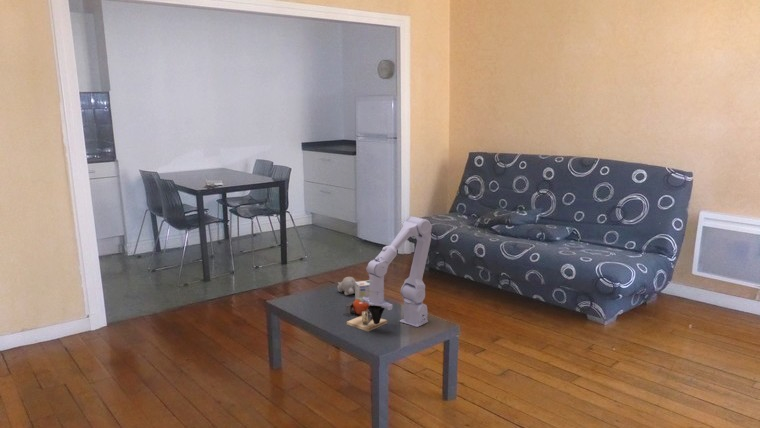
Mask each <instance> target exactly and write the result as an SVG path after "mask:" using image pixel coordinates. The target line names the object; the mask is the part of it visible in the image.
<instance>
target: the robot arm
mask: <svg viewBox="0 0 760 428" xmlns="http://www.w3.org/2000/svg"><path fill="white" fill-rule="evenodd" d="M432 229H433V224H431V222H430V221H429V220H428V219H425V218H421V217H420V218H419V217H416V216H414V215H410V216H408V217H407V218H406V220H405V221H404V222H403V223H402V228H401V229H400V230H399V232H398V233H397V235H396V236H395V237H394V239H393V240H392V241H391V243H390V244H388V245H385V246H383V247H382V250H381V251H380V252H379V253H378V255H376V256H375V257H374V259H372V260H370V261H369V262H368V263H367V266H366V267H365V269H366V272H367V273H368V277H369V278H368V280H369V290H370V291H369V292H370V298H368V297H363V298H361V302H362V303H368V304H369V305H370V306H369V307H368V309H369V310H368V312H370V313H371V315H372V318H373V322H374V324H378V323H380V319H382V315H383V313H384V311H385V310H388V311H391V310H393V304H392V303H390V302H388V301H386V300H385V275H386V274H387V273H388V268H389V266H390V264H391V263H392V261H393V260H394V259H395V258H396V257H397V255H398V252H397V251H398V250H399V249H400V248H401V247H402V245H403V244H404V243H405V242H406V241H407V240H408V239H409V238H410V237H414V238H415V239H416V244H415V249H414V253H413V258H412V262H411V263H412V264H411V268H410V272H409V276H408V277H407V278H405V279H404V282H403V284H402V286H401V288H400V292H399V293H400V295H401V297H402V299H403V318H401V319H400V320H399V323H402V324H406V325H409V326H413V327H415V328H417V327H420V326H422V325H425V324H427V323H429V320H428V306H427V304H426V303H424V302H423V301H424V300H425V298H426V284H425V283H424V281H423V278H424V277H423V276H424V273H425V267H426V264H427V259H428V254H429V251H430V245H431V241H432Z"/></svg>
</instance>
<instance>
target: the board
mask: <svg viewBox="0 0 760 428" xmlns="http://www.w3.org/2000/svg"><path fill="white" fill-rule="evenodd" d="M387 324H388V319H384V318H381V319H380V323H378V324H374V322H373V319H371V320H370V321H369V322H368V323H367V324H363V322H362V315H359V316H357V317H355V318H351V319H350V320H348V321H346V326H351V327H354V328H356V329H359V330H362V331H366V332H371V331H374V330H375V329H377V328H381V327H382V326H385V325H387Z"/></svg>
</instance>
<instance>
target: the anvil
mask: <svg viewBox="0 0 760 428" xmlns="http://www.w3.org/2000/svg"><path fill="white" fill-rule="evenodd" d="M353 302H354V301H349V302H348V303H347V304H346V305H345V311H344V313H343V316H344V317H351V316H352V315H354V313H356V312H355V311H354V309H353Z"/></svg>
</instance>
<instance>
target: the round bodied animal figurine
mask: <svg viewBox="0 0 760 428" xmlns="http://www.w3.org/2000/svg"><path fill="white" fill-rule="evenodd" d="M355 282H357V281H356V279H355V278H354V277H352V276H346V277H343V279H342V281H340V282H339V281H337V284H338V285H337V292H338V293H342V292H343V291H344V292H343V293H344V296H349V295H353V294H355Z"/></svg>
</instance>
